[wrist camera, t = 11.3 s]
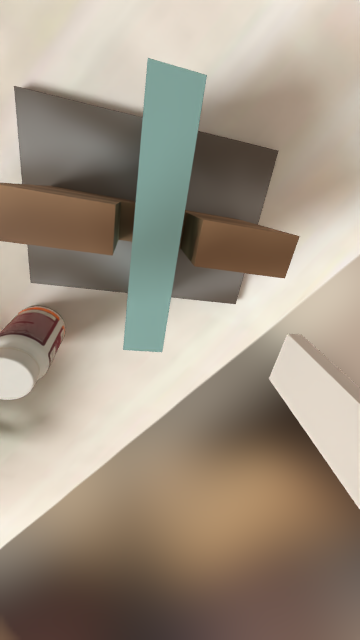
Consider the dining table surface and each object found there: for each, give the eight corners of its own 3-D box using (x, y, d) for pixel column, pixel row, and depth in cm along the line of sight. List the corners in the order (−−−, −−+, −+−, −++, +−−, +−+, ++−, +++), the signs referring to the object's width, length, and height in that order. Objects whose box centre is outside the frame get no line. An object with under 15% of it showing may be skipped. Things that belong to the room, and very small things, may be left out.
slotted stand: (18, 90, 18) (-114, -24, 8) (273, 152, 22) (377, 122, 13) (33, 280, 24) (-35, 338, 14) (233, 301, 28) (282, 357, 19)
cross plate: (142, 119, 19) (147, 57, 10) (175, 127, 20) (206, 75, 11) (128, 293, 25) (123, 349, 16) (153, 296, 26) (162, 352, 17)
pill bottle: (5, 315, 25) (-51, 367, 18) (50, 297, 25) (13, 343, 18) (34, 352, 27) (-5, 412, 20) (75, 336, 27) (52, 391, 20)
